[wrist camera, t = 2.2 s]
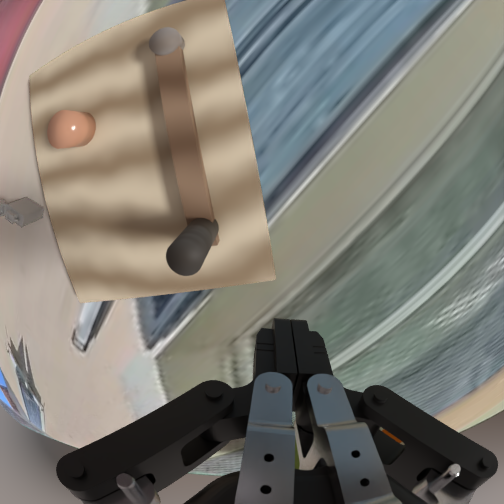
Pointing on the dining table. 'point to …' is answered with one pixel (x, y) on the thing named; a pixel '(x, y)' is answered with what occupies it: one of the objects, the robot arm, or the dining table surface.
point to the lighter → (21, 211)
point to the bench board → (149, 159)
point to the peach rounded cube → (71, 129)
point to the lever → (184, 156)
